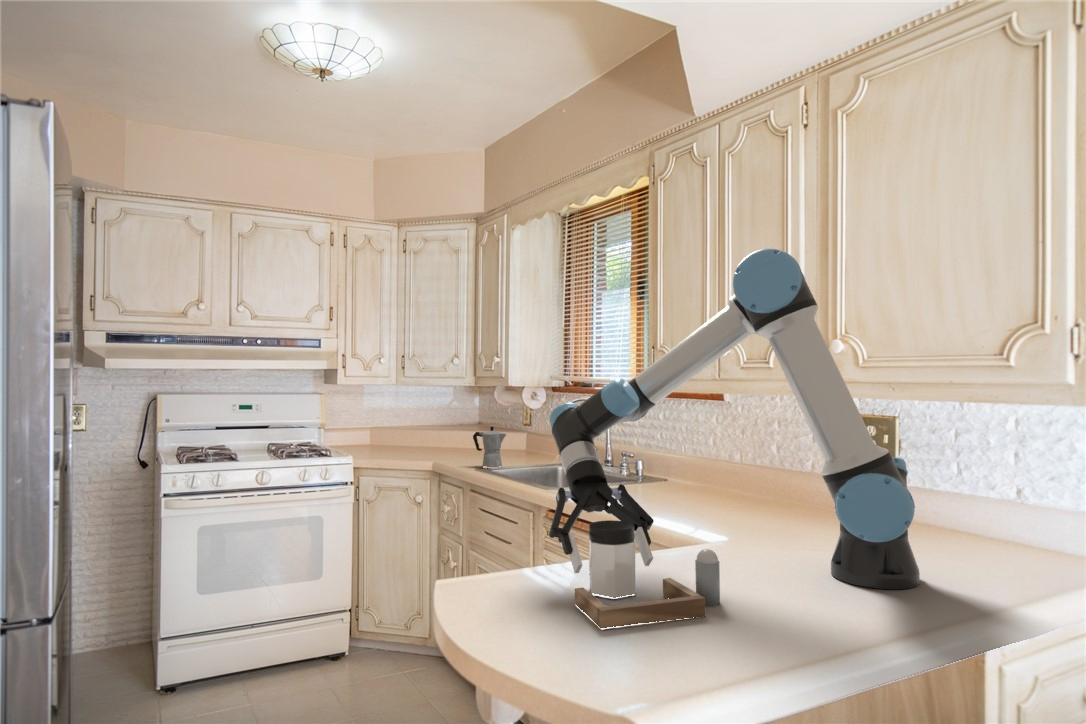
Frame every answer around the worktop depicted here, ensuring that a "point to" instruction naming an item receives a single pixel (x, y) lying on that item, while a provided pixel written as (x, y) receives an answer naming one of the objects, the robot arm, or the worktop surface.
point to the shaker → (708, 577)
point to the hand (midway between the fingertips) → (614, 565)
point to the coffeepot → (490, 447)
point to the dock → (644, 607)
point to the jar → (612, 558)
